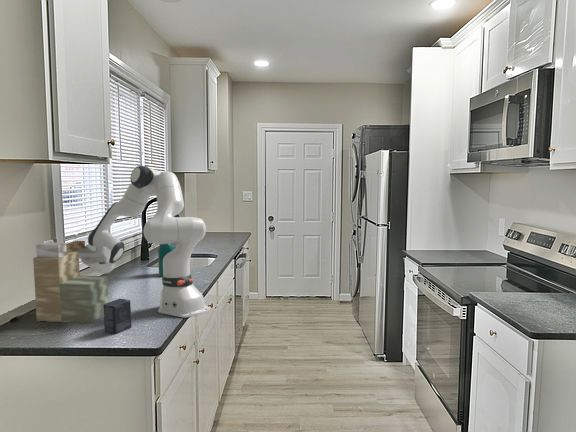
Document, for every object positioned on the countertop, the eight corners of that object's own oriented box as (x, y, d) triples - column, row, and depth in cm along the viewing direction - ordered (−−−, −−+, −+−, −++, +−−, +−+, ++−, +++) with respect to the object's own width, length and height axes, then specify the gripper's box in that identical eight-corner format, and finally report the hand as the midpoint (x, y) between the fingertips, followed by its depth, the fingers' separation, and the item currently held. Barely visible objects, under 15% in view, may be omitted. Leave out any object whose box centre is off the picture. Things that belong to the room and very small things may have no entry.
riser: (58, 310, 180) (55, 251, 177) (108, 311, 178) (106, 252, 176) (36, 321, 166) (33, 258, 163) (91, 322, 164) (88, 258, 162)
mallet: (71, 247, 188) (70, 236, 187) (90, 247, 187) (90, 236, 186) (36, 257, 165) (36, 244, 164) (59, 257, 164) (58, 244, 164)
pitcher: (162, 273, 247) (161, 235, 245) (177, 273, 247) (176, 236, 245) (157, 277, 238) (155, 238, 236) (172, 277, 237) (171, 238, 235)
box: (120, 325, 161) (119, 298, 160) (131, 327, 159) (131, 299, 158) (104, 332, 154) (102, 303, 153) (115, 334, 152) (114, 305, 151)
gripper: (71, 249, 198) (55, 238, 186) (114, 250, 197) (100, 239, 184) (68, 262, 196) (51, 252, 183) (111, 263, 194) (97, 252, 182)
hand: (76, 245), depth 184 cm, fingers open, 8 cm apart
